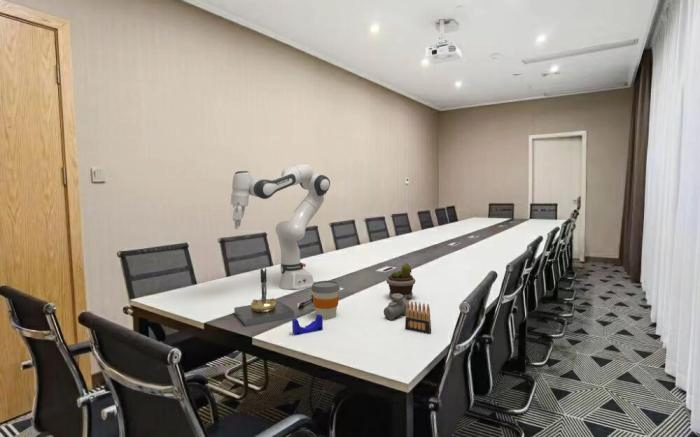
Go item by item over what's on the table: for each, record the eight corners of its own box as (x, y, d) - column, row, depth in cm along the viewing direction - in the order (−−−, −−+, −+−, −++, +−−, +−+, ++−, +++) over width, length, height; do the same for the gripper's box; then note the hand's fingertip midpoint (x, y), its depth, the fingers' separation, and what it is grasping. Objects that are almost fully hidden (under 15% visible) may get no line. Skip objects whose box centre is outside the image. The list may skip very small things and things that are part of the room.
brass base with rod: (275, 311, 177) (274, 274, 175) (250, 312, 175) (249, 276, 173) (275, 300, 193) (274, 267, 192) (253, 302, 191) (251, 268, 190)
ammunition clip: (404, 329, 161) (404, 300, 160) (406, 327, 163) (406, 299, 162) (429, 334, 155) (429, 304, 154) (431, 332, 157) (431, 303, 156)
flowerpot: (381, 298, 205) (380, 261, 203) (398, 292, 216) (398, 257, 215) (403, 304, 195) (403, 264, 194) (420, 297, 206) (420, 260, 205)
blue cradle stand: (318, 327, 166) (318, 313, 165) (322, 330, 162) (322, 316, 161) (291, 332, 160) (291, 317, 160) (295, 335, 156) (294, 321, 156)
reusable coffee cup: (329, 322, 171) (328, 288, 169) (306, 317, 177) (306, 285, 176) (345, 314, 181) (344, 282, 180) (323, 310, 188) (322, 279, 187)
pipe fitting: (396, 310, 184) (396, 289, 182) (410, 315, 179) (410, 294, 177) (380, 319, 176) (380, 298, 174) (394, 325, 170) (394, 303, 168)
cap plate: (279, 306, 196) (278, 299, 195) (294, 317, 178) (294, 310, 178) (234, 313, 184) (234, 307, 184) (246, 326, 167) (245, 319, 167)
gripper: (244, 203, 196) (241, 230, 197) (247, 200, 216) (245, 225, 217) (231, 202, 195) (228, 229, 196) (235, 199, 215) (233, 224, 216)
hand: (237, 227), depth 207 cm, fingers open, 8 cm apart
